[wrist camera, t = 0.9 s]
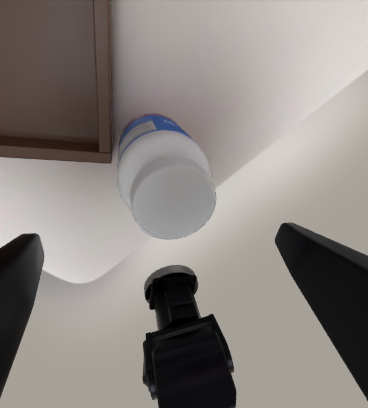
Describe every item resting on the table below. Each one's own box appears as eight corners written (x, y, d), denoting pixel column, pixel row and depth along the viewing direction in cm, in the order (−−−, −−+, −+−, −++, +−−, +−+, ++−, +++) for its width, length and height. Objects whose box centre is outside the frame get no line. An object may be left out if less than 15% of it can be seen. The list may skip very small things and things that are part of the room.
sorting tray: (112, 152, 17) (111, 164, 15) (-73, 139, 14) (-106, 151, 12) (110, -54, 12) (108, -80, 10) (-201, -157, 8) (-306, -231, 6)
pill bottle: (195, 151, 19) (249, 210, 11) (148, 187, 20) (167, 267, 12) (157, 95, 16) (192, 121, 8) (103, 141, 17) (87, 206, 9)
